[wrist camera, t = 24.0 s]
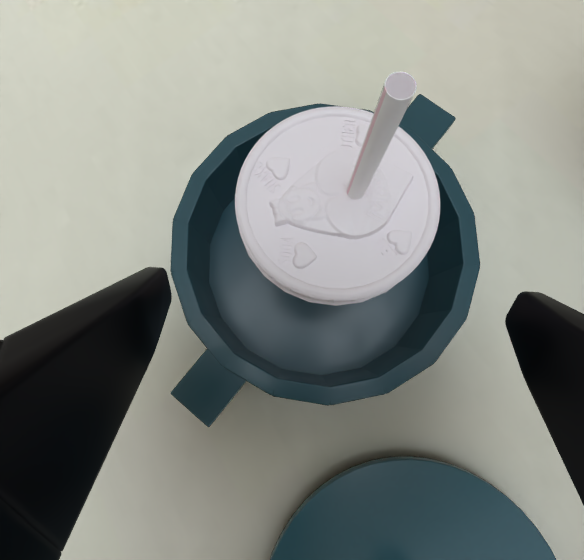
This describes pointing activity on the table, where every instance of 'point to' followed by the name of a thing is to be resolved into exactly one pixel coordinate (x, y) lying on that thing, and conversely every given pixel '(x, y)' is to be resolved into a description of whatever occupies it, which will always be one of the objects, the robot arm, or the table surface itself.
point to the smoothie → (339, 200)
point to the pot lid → (409, 517)
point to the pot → (306, 315)
